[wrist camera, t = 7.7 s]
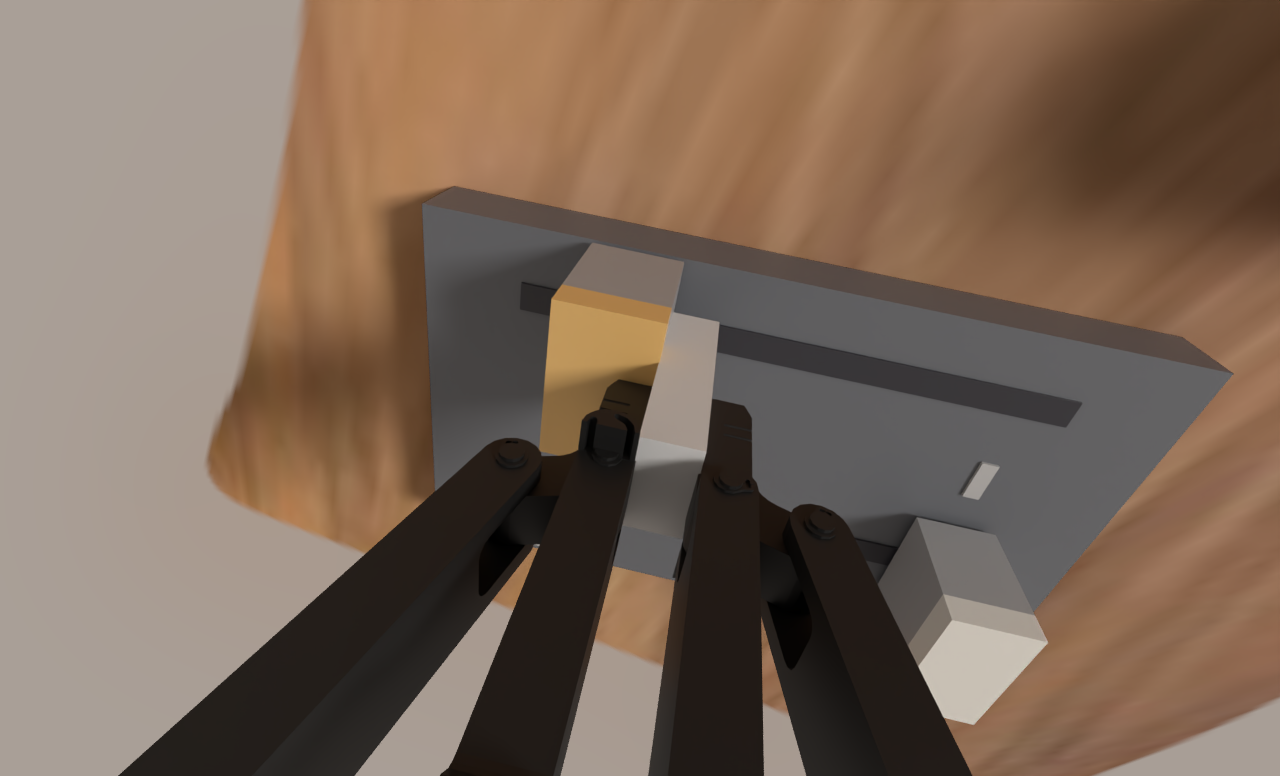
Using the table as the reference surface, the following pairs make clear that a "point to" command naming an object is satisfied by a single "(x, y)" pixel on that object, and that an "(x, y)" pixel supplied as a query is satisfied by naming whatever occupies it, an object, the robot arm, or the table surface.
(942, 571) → the block
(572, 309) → the amber fader
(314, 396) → the table surface
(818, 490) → the console
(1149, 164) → the table surface
